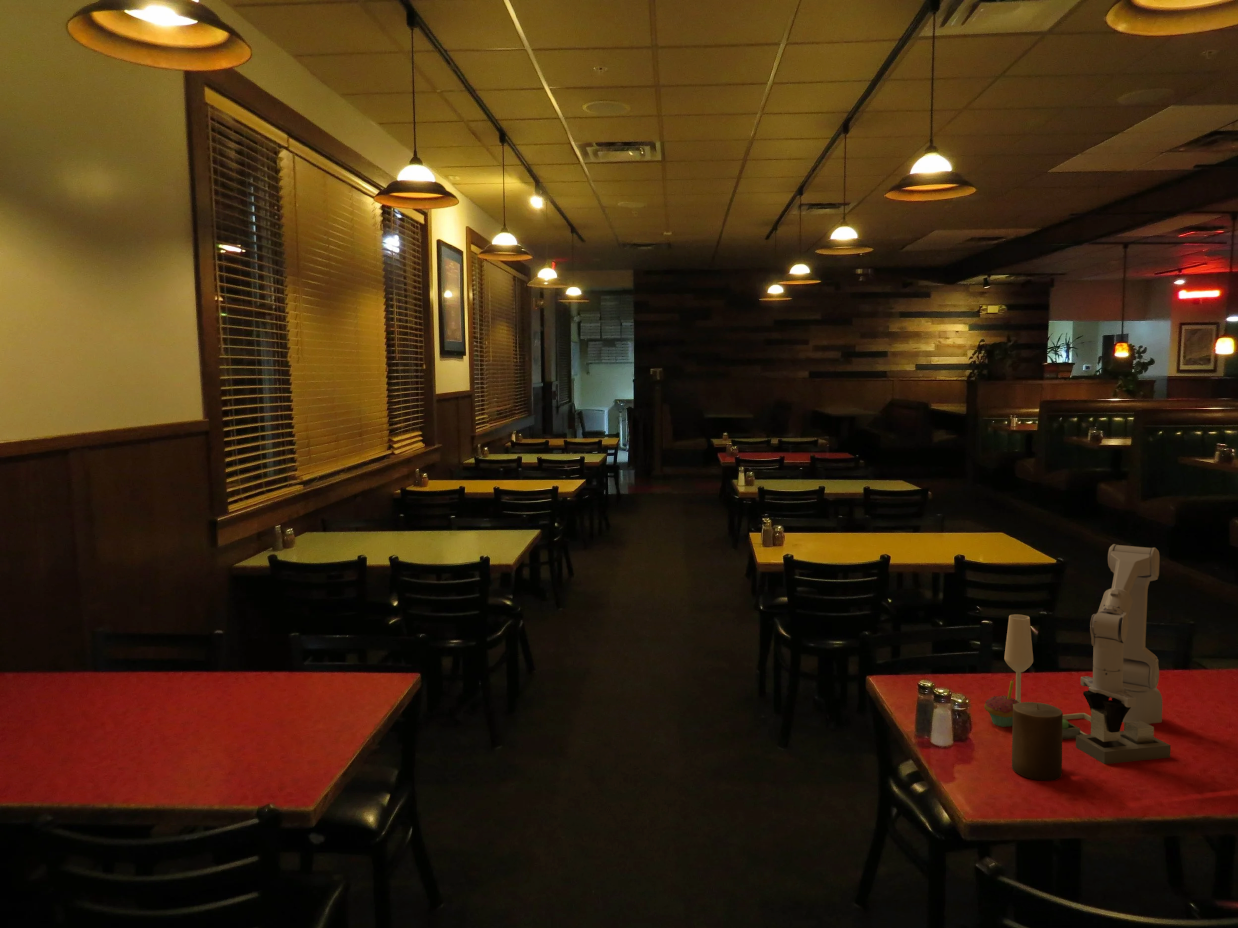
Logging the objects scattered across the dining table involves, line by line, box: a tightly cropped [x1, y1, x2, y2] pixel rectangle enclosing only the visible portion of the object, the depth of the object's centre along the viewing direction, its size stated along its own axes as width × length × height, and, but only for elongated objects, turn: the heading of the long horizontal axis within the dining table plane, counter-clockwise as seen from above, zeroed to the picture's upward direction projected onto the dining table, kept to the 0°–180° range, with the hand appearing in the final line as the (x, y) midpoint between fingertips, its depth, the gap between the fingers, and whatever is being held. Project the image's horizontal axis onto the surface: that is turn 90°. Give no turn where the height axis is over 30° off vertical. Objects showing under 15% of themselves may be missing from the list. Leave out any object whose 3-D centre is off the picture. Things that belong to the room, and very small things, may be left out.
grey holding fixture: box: [1075, 730, 1171, 765], centre depth 189 cm, size 16×9×4 cm, turn 99°
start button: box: [1062, 719, 1069, 729], centre depth 200 cm, size 4×4×4 cm
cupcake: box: [983, 678, 1019, 728], centre depth 207 cm, size 9×8×12 cm
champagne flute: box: [1003, 614, 1034, 703], centre depth 217 cm, size 7×7×24 cm
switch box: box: [1062, 721, 1081, 740], centre depth 200 cm, size 6×6×3 cm
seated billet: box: [1123, 720, 1155, 745], centre depth 190 cm, size 4×4×6 cm
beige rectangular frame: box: [1063, 712, 1091, 735], centre depth 202 cm, size 9×14×2 cm, turn 9°
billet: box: [1090, 707, 1121, 742], centre depth 188 cm, size 4×4×6 cm
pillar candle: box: [1011, 701, 1064, 782], centre depth 182 cm, size 10×10×15 cm
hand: (1106, 727), depth 188 cm, fingers closed on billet, 4 cm apart
